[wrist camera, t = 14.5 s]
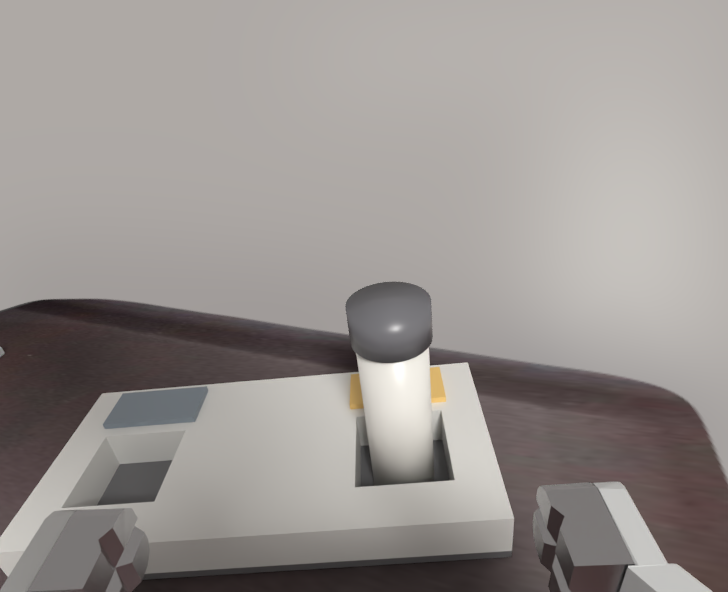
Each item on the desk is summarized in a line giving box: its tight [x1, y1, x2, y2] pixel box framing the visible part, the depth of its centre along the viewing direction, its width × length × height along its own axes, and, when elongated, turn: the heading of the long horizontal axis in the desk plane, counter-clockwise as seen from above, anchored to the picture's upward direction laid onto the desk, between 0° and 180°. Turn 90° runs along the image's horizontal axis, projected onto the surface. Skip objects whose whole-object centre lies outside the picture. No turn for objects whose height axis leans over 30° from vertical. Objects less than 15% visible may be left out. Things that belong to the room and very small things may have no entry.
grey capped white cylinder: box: [346, 282, 435, 486], centre depth 26 cm, size 4×4×12 cm
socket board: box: [0, 363, 514, 580], centre depth 29 cm, size 26×12×3 cm, turn 90°
